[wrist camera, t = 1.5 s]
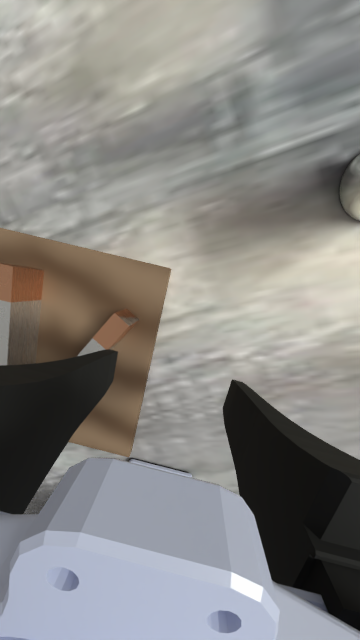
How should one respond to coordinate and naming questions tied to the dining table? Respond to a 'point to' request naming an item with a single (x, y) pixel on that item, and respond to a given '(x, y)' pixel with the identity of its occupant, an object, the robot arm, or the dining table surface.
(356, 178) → the beer glass
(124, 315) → the hinged tong arm
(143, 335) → the walnut board
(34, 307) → the fixed tong arm
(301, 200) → the dining table surface
